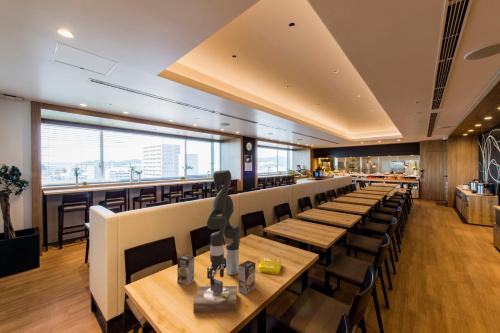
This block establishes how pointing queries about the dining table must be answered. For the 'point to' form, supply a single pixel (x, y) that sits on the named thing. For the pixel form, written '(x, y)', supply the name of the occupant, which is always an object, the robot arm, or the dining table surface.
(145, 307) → the dining table surface
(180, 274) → the coffee box
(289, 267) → the dining table surface
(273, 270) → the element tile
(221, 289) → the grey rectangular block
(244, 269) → the coffee box
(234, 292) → the tuner box
